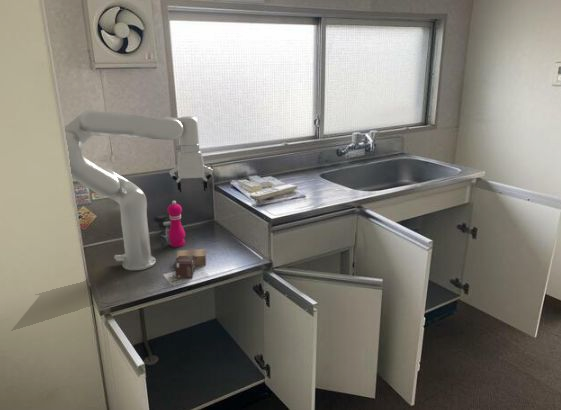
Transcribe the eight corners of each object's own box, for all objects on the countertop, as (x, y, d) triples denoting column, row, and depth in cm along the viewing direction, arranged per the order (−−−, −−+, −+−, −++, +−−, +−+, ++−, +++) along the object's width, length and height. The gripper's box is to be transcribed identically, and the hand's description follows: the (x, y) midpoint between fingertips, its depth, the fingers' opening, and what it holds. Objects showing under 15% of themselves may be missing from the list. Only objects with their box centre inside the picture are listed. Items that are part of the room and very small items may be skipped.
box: (195, 269, 170) (192, 278, 163) (179, 269, 170) (176, 278, 163) (194, 254, 168) (191, 263, 161) (178, 255, 168) (174, 263, 161)
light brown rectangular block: (176, 267, 172) (176, 257, 171) (178, 259, 179) (177, 250, 178) (205, 265, 173) (204, 255, 172) (206, 258, 180) (205, 248, 179)
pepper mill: (188, 241, 198) (185, 198, 192) (182, 247, 191) (178, 203, 185) (172, 240, 199) (169, 198, 193) (166, 247, 192) (162, 202, 186)
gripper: (165, 151, 170) (170, 194, 175) (211, 149, 171) (214, 192, 176) (168, 147, 177) (172, 189, 182) (212, 146, 178) (214, 187, 184)
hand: (193, 190), depth 179 cm, fingers open, 9 cm apart
